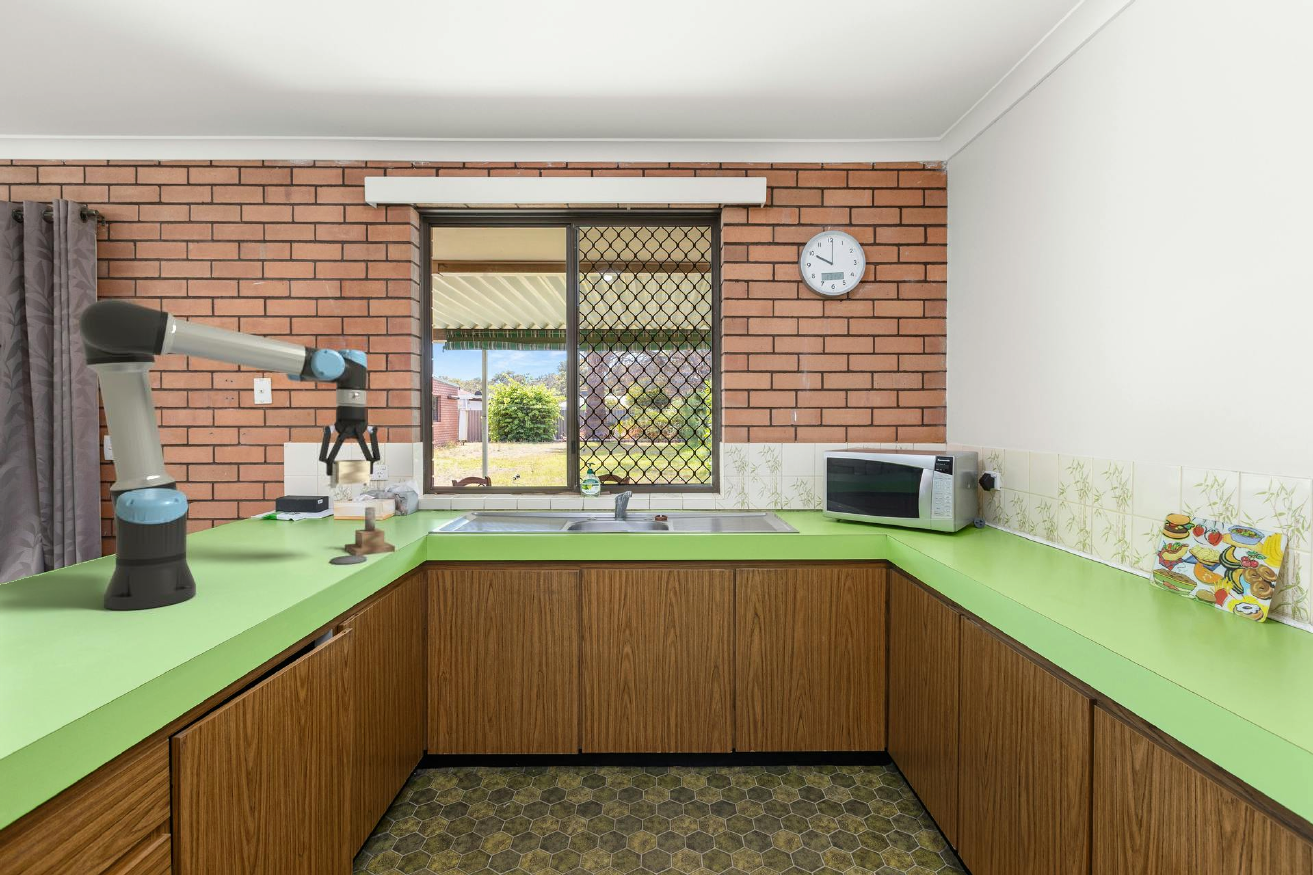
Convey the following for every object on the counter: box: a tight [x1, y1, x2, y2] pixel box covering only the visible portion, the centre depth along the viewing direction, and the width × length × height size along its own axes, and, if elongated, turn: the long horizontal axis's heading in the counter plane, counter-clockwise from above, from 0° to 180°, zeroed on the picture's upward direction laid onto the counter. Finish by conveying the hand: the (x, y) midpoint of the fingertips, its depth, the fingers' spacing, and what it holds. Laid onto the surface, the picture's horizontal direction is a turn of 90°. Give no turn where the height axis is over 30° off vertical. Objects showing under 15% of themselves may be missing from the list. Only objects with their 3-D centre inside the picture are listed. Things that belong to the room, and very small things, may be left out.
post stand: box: [344, 506, 396, 556], centre depth 182 cm, size 11×11×13 cm
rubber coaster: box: [330, 554, 368, 566], centre depth 168 cm, size 9×9×1 cm
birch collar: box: [333, 459, 371, 485], centre depth 167 cm, size 8×8×6 cm
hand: (349, 486), depth 167 cm, fingers closed on birch collar, 8 cm apart
